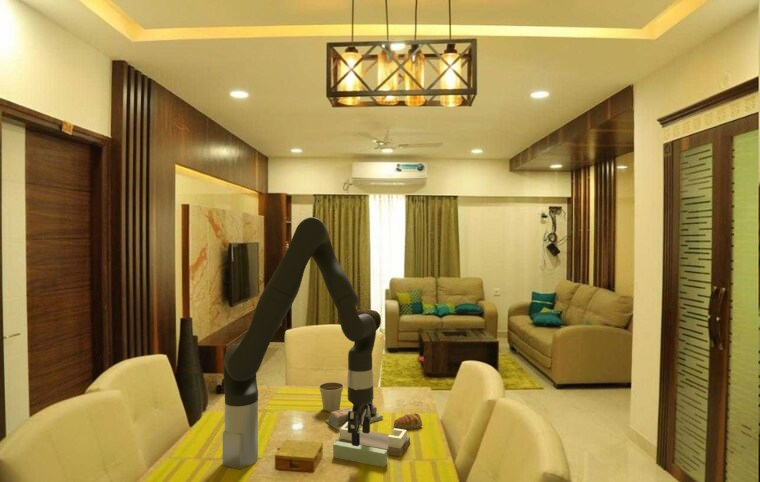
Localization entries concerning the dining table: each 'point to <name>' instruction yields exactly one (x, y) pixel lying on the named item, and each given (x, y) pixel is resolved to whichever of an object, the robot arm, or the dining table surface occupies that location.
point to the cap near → (397, 438)
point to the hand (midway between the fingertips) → (361, 439)
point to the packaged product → (341, 417)
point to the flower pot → (331, 395)
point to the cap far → (345, 432)
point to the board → (378, 442)
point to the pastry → (408, 421)
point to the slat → (360, 453)
